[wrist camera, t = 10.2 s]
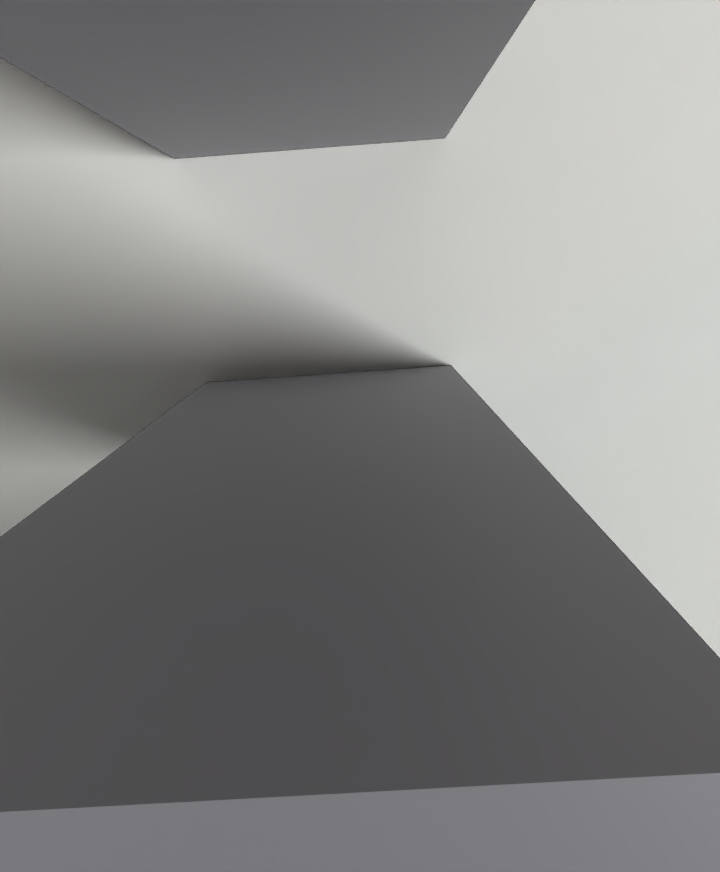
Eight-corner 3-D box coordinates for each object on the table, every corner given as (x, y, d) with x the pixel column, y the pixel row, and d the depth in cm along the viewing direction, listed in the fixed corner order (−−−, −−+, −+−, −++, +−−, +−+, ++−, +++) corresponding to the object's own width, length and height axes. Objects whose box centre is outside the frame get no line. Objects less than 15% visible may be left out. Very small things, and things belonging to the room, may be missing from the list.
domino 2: (206, 382, 12) (-394, 833, 2) (451, 365, 12) (821, 765, 2) (218, 465, 13) (-243, 1110, 3) (453, 449, 12) (767, 1066, 3)
